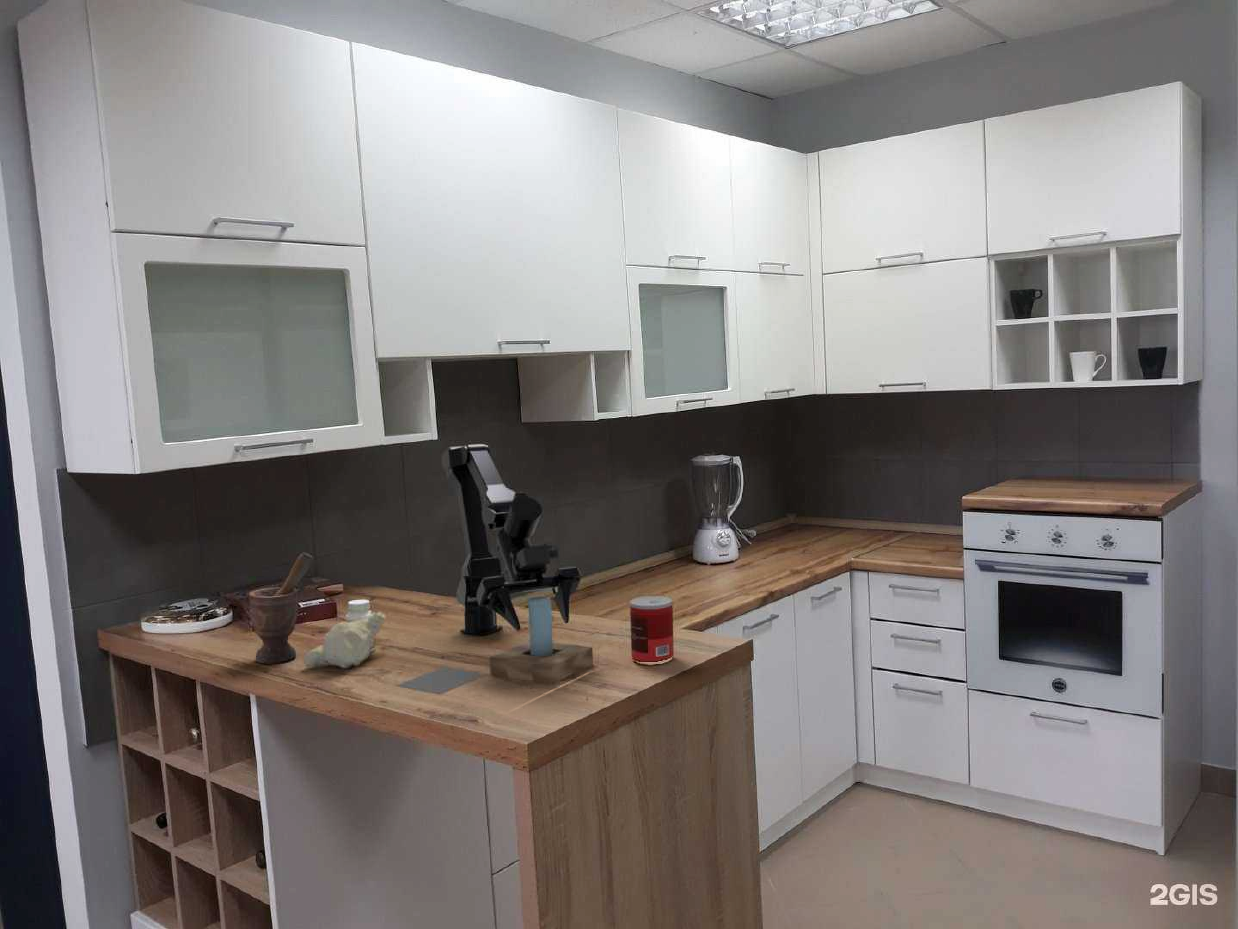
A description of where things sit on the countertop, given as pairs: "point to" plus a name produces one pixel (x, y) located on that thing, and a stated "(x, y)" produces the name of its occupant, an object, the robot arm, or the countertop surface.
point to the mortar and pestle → (277, 615)
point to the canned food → (651, 628)
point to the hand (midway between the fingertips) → (543, 625)
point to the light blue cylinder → (540, 627)
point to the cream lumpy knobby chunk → (346, 643)
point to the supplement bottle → (359, 613)
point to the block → (541, 663)
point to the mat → (441, 680)
